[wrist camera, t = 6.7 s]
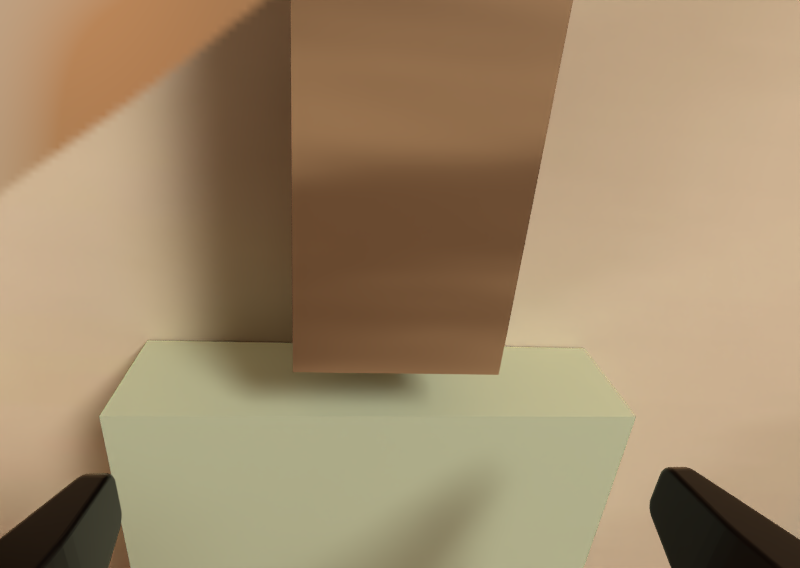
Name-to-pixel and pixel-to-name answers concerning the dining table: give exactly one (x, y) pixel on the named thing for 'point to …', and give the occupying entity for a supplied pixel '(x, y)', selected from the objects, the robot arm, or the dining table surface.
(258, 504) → the block
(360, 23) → the walnut block
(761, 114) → the dining table surface
